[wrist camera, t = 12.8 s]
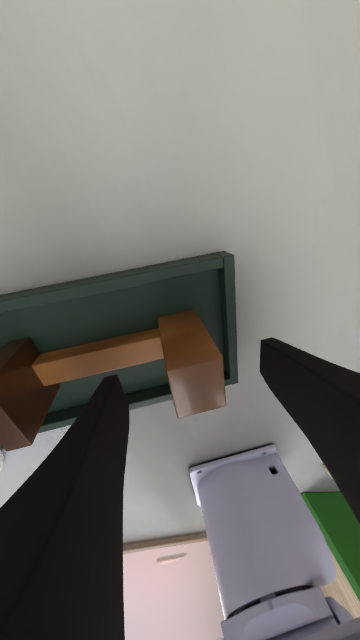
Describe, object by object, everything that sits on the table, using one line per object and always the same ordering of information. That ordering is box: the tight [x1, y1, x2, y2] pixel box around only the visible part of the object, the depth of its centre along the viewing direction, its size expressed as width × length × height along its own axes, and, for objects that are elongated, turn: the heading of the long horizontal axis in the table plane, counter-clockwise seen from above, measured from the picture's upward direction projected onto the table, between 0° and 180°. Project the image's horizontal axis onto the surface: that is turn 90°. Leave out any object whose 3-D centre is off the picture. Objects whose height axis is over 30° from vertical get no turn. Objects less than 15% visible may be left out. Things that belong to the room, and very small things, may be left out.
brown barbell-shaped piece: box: [0, 310, 226, 451], centre depth 11 cm, size 12×4×5 cm, turn 99°
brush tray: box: [0, 251, 238, 433], centre depth 13 cm, size 16×9×1 cm, turn 99°
